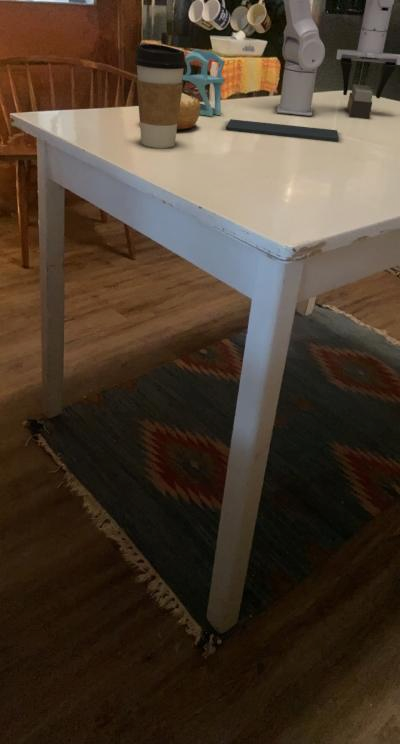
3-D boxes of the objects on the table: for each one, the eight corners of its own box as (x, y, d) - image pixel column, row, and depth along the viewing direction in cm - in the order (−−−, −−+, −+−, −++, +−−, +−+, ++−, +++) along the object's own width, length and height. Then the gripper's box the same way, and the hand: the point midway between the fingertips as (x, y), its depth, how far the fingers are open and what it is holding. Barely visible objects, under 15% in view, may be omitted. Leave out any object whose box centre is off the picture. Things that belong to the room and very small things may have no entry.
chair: (204, 117, 127) (209, 54, 121) (175, 110, 132) (178, 48, 125) (227, 114, 132) (233, 52, 126) (199, 107, 137) (202, 47, 130)
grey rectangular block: (347, 107, 150) (351, 83, 147) (364, 109, 149) (369, 85, 146) (349, 116, 140) (354, 91, 137) (369, 118, 139) (374, 93, 136)
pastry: (203, 134, 114) (207, 82, 109) (140, 132, 112) (141, 79, 107) (194, 120, 124) (197, 72, 119) (136, 118, 122) (136, 69, 117)
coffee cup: (160, 136, 111) (162, 43, 102) (192, 146, 106) (197, 49, 98) (123, 141, 105) (123, 44, 97) (155, 152, 101) (158, 50, 92)
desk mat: (230, 122, 125) (230, 119, 125) (336, 133, 124) (337, 130, 123) (225, 130, 119) (225, 126, 119) (338, 141, 117) (338, 138, 117)
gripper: (342, 28, 132) (330, 95, 140) (409, 34, 131) (394, 101, 139) (340, 26, 138) (329, 91, 146) (405, 32, 137) (391, 96, 144)
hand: (361, 96), depth 143 cm, fingers open, 7 cm apart
